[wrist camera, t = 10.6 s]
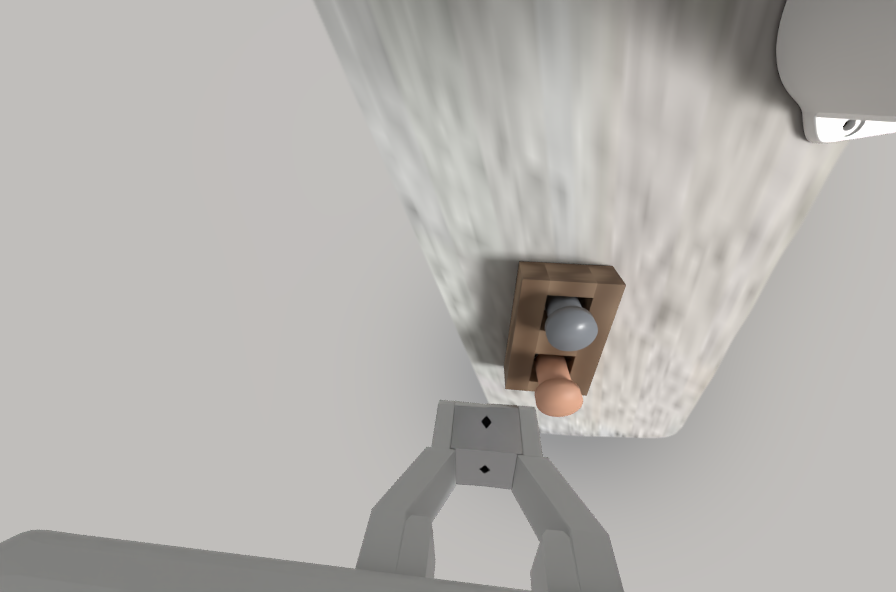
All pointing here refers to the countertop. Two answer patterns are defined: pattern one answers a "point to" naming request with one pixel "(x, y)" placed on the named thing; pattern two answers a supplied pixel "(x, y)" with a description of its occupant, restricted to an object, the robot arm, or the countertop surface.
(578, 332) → the grey plug
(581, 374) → the wooden frame holder
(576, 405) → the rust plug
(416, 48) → the countertop surface
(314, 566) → the robot arm
